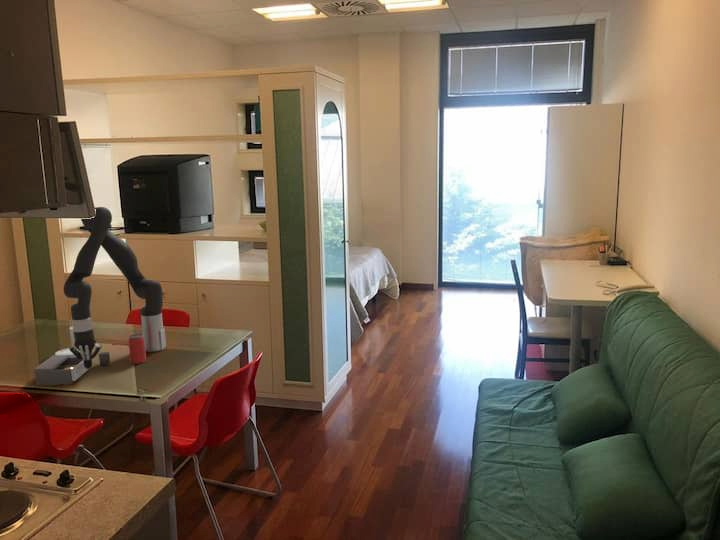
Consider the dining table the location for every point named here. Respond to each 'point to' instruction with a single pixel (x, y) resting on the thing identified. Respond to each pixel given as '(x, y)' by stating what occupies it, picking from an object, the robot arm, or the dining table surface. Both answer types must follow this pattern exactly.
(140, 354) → the beer can
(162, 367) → the dining table surface
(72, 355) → the ramekin
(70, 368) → the disc
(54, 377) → the housing
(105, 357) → the cylinder
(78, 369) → the tray
